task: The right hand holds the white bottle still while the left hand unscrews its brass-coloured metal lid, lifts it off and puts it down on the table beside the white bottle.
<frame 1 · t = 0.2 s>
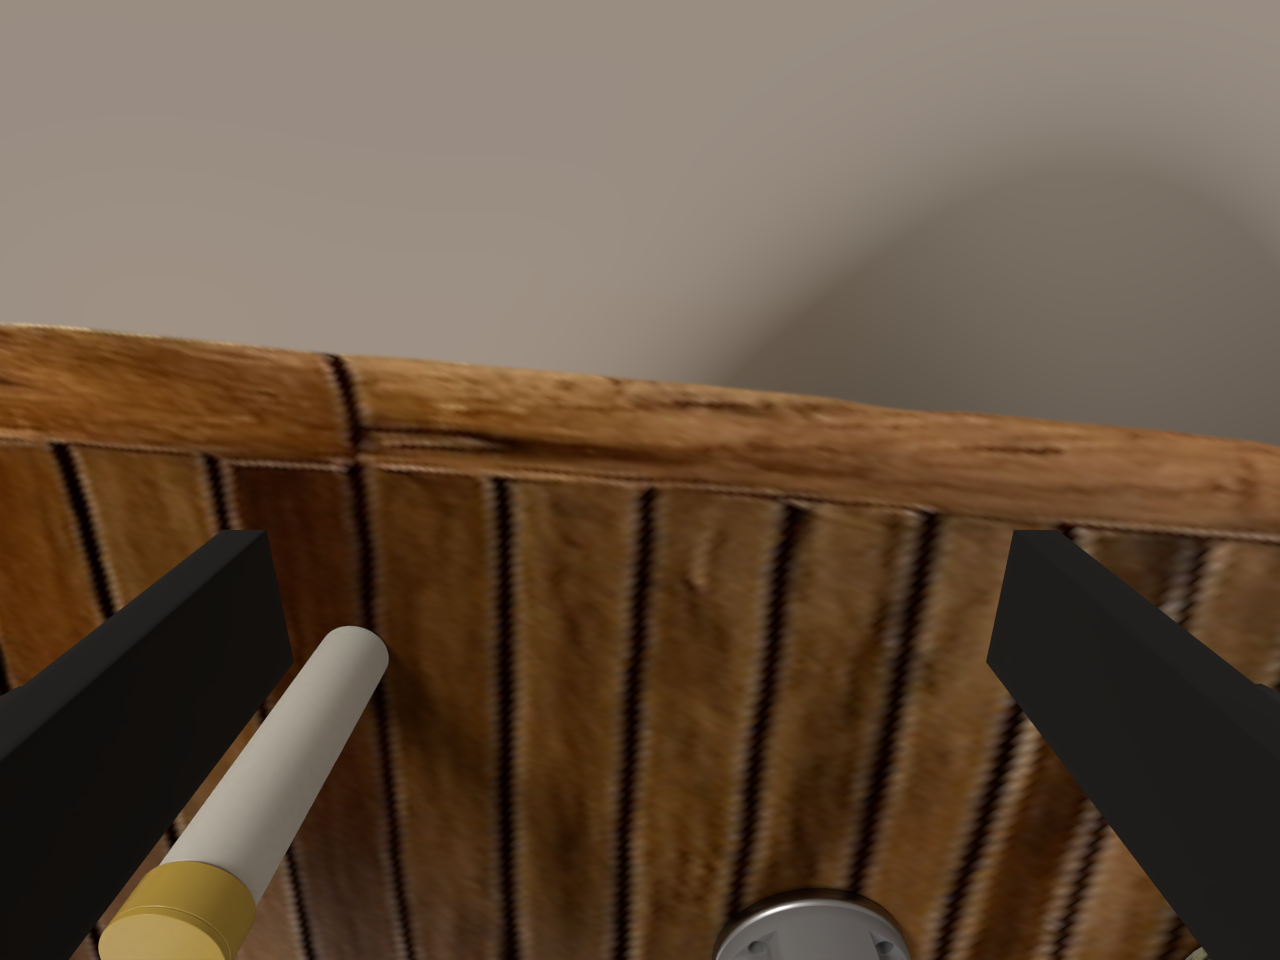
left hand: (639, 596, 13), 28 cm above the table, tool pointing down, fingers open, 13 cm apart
lid: (167, 950, 28), point 20 cm above the table, screwed on, not yet turned
white bottle: (355, 654, 46), on the table
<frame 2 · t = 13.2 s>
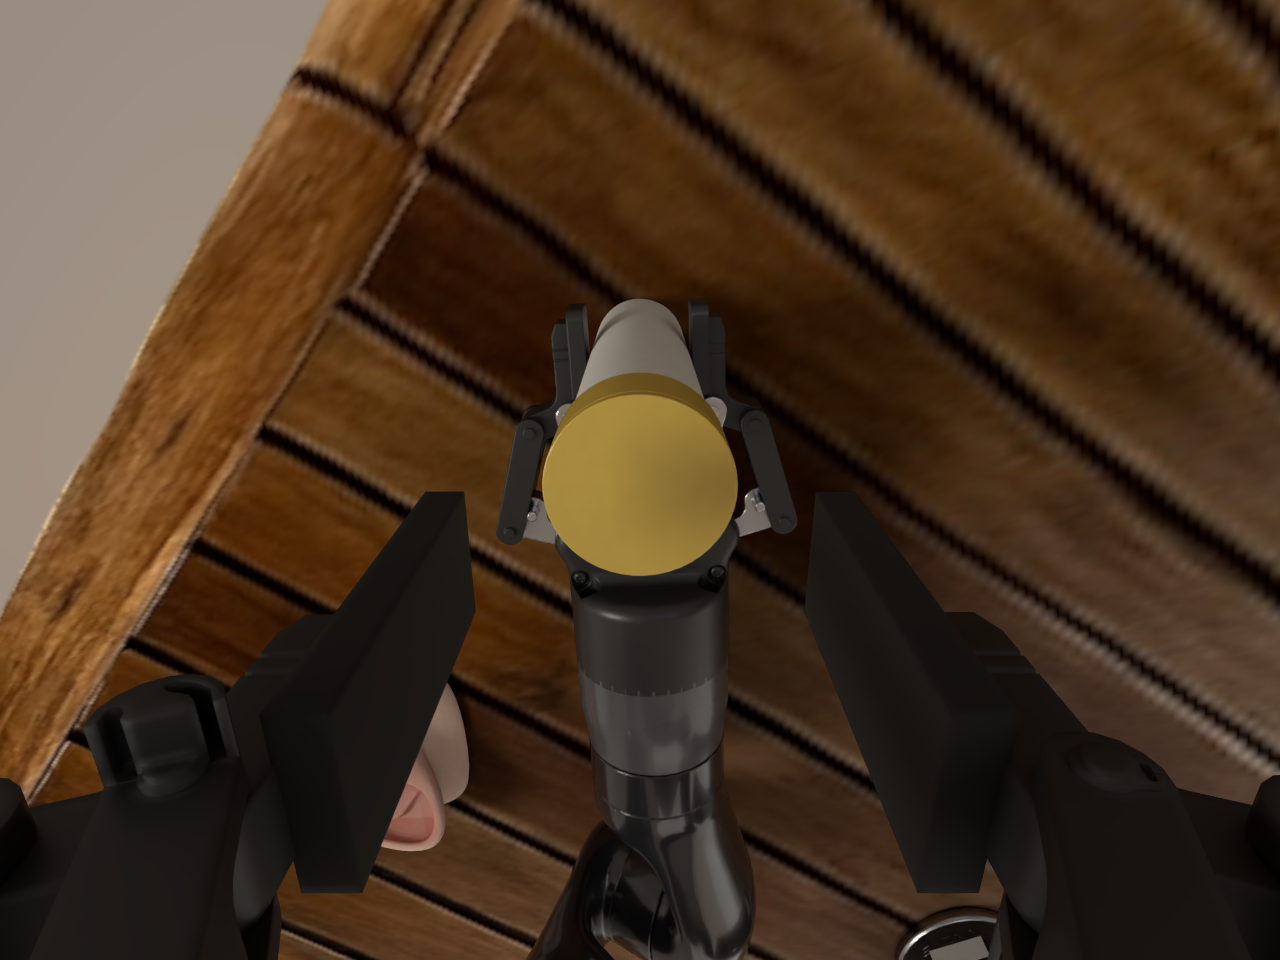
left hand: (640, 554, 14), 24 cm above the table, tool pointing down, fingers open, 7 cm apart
right hand: (636, 305, 29), fingers closed on white bottle, 4 cm apart
lid: (640, 484, 18), point 20 cm above the table, screwed on, not yet turned
anatomical model: (379, 723, 45), on the table
white bottle: (639, 342, 36), on the table, touching right hand
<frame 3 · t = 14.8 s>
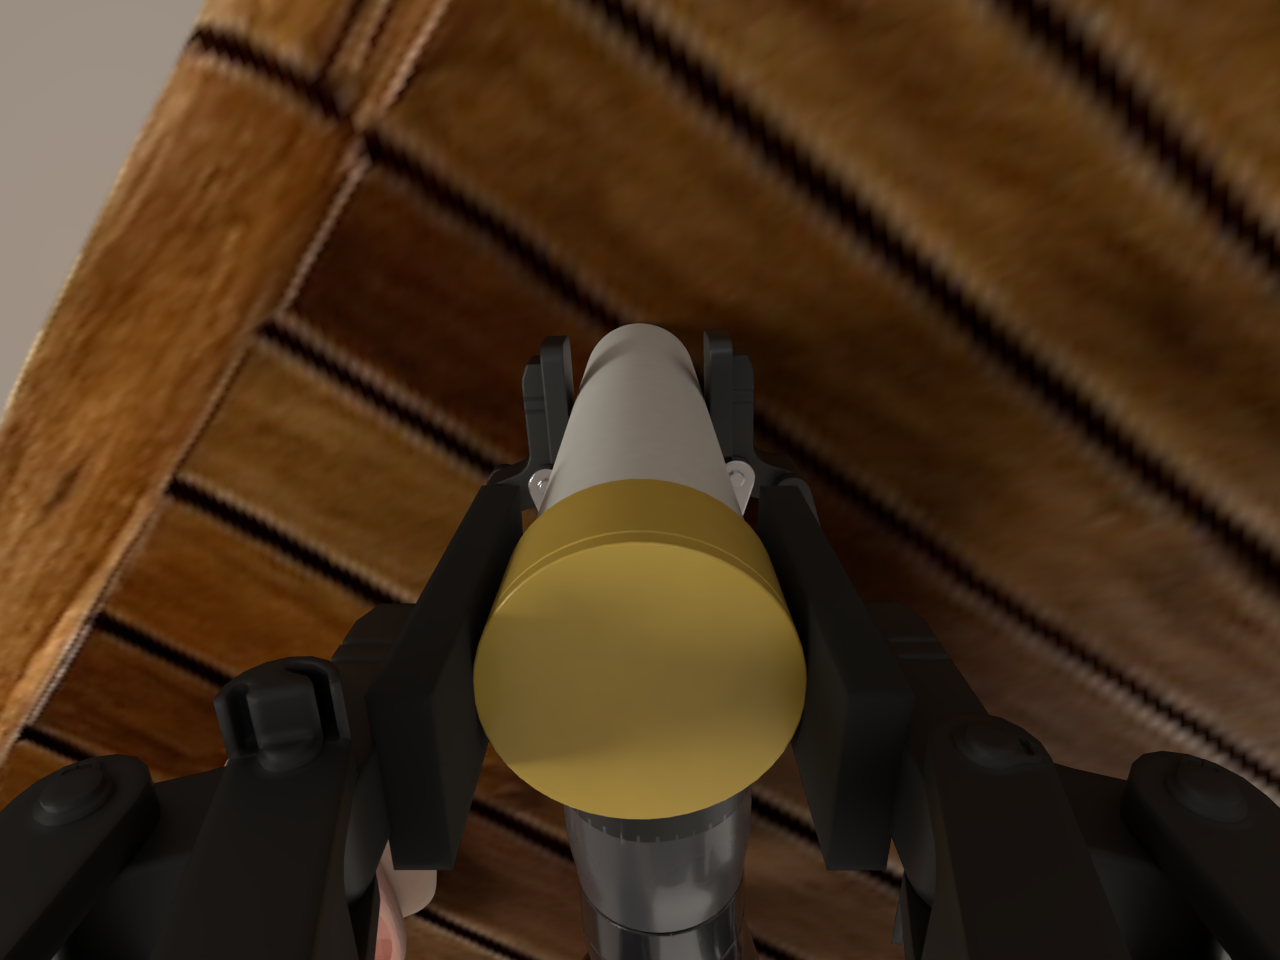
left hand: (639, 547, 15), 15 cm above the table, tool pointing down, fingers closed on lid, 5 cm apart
lid: (639, 678, 11), point 20 cm above the table, screwed on, not yet turned, touching left hand
anatomical model: (329, 823, 38), on the table
white bottle: (640, 377, 29), on the table, touching right hand
when the left hand's fingers open (16 cm above the table, at t = 16.1 s): lid stays where it is, point 20 cm above the table.
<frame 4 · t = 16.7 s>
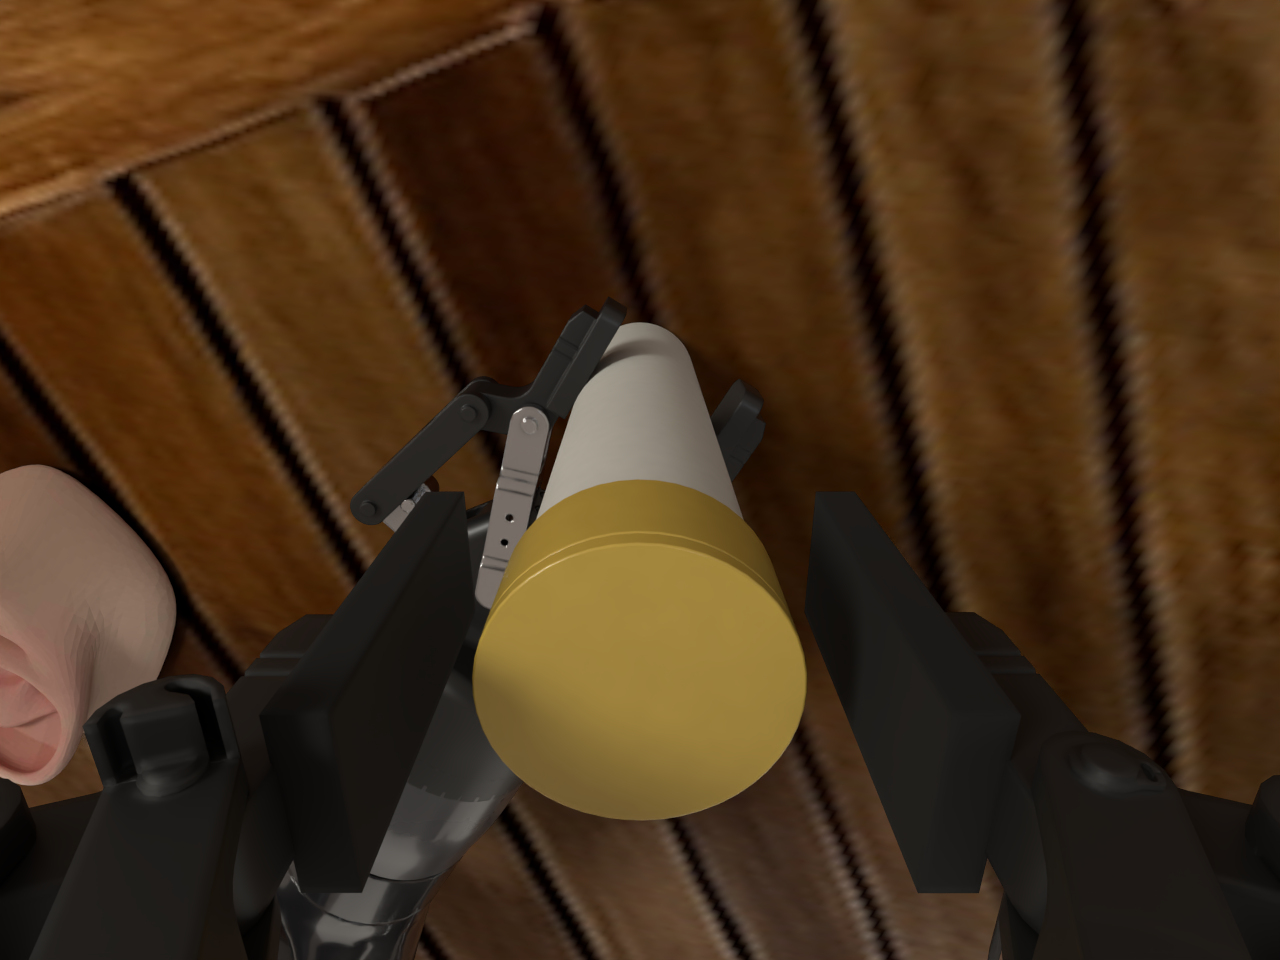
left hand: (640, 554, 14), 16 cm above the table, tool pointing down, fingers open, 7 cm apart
lid: (639, 679, 11), point 20 cm above the table, turned 84° so far, risen 0.3 cm, still on its thread
anatomical model: (57, 601, 33), on the table
white bottle: (639, 376, 29), on the table, touching right hand
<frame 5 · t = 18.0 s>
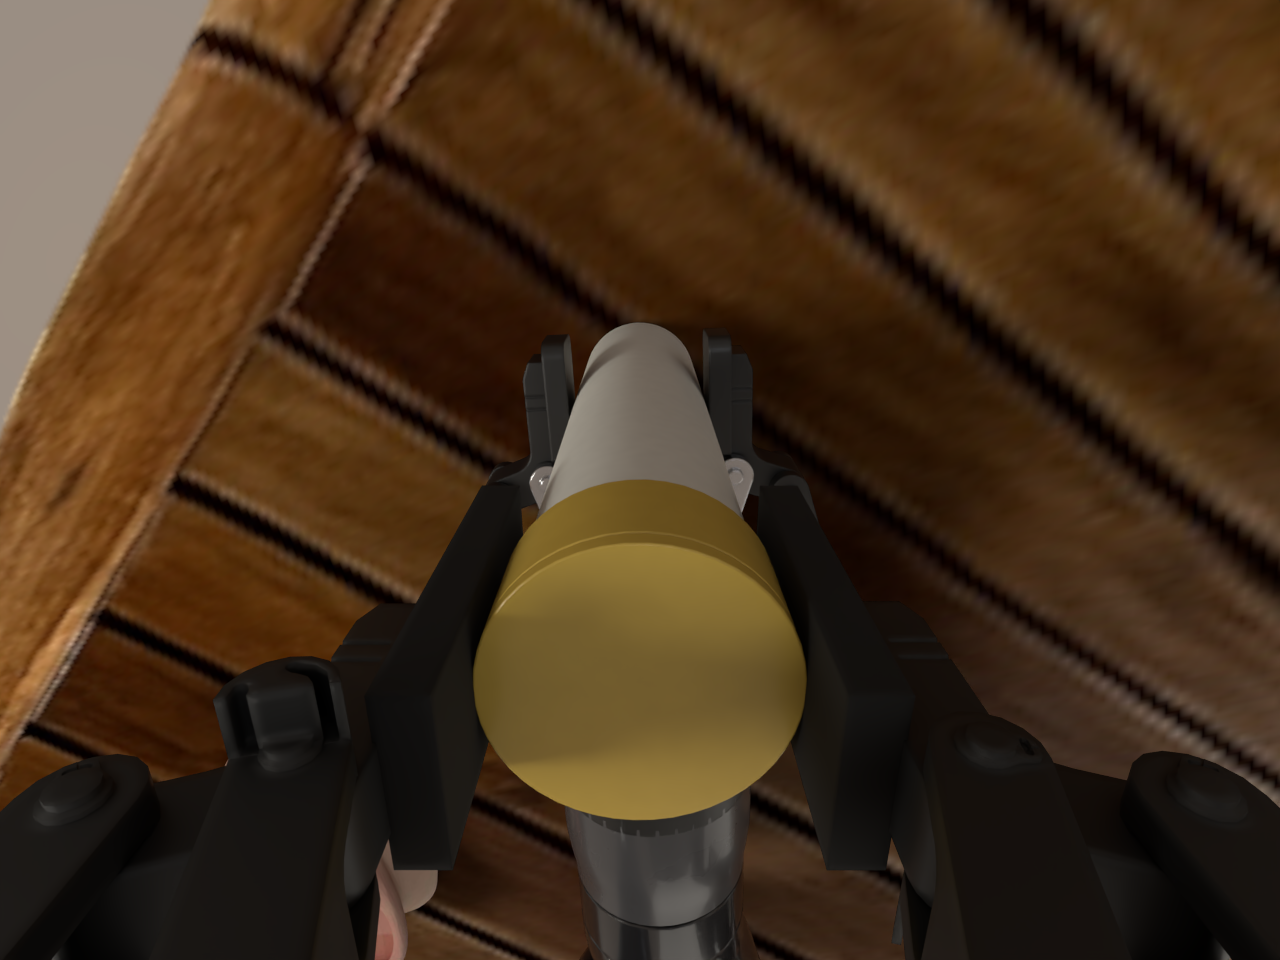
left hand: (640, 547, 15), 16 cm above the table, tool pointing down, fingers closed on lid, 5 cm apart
lid: (639, 679, 11), point 20 cm above the table, turned 84° so far, risen 0.3 cm, still on its thread, touching left hand
anatomical model: (331, 820, 38), on the table
white bottle: (639, 376, 29), on the table, touching right hand
when the left hand's fingers open (0 cm above the table, at t = 26.5 s): lid drops 2 cm, point 2 cm above the table.
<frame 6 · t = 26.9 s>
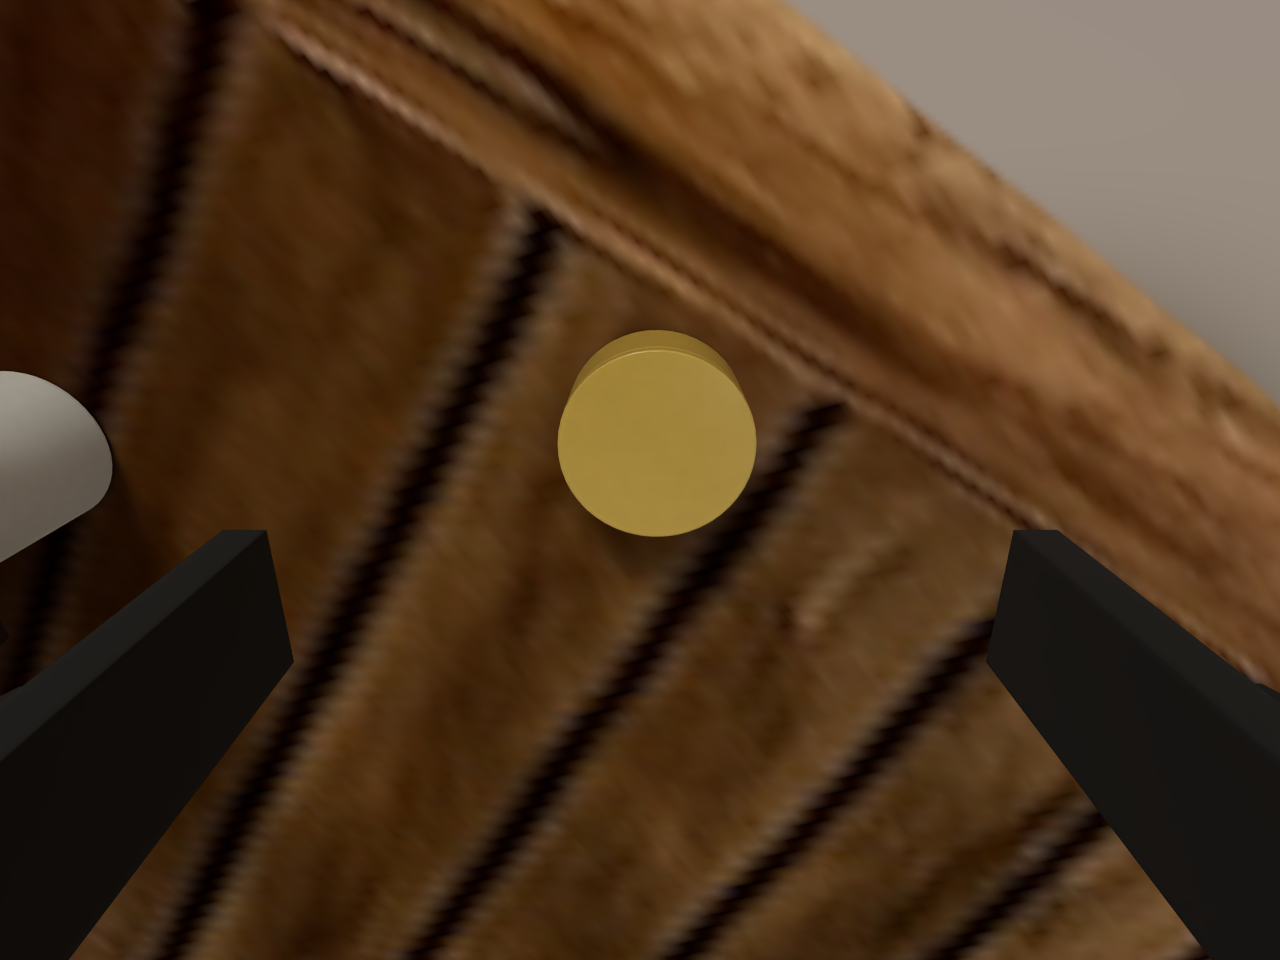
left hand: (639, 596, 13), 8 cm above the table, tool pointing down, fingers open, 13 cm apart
lid: (656, 443, 18), point 2 cm above the table, off its thread
white bottle: (33, 446, 20), on the table, touching right hand
when the right hand's fingers open (6 cm above the table, at t = 27.1 s): white bottle stays where it is, on the table.
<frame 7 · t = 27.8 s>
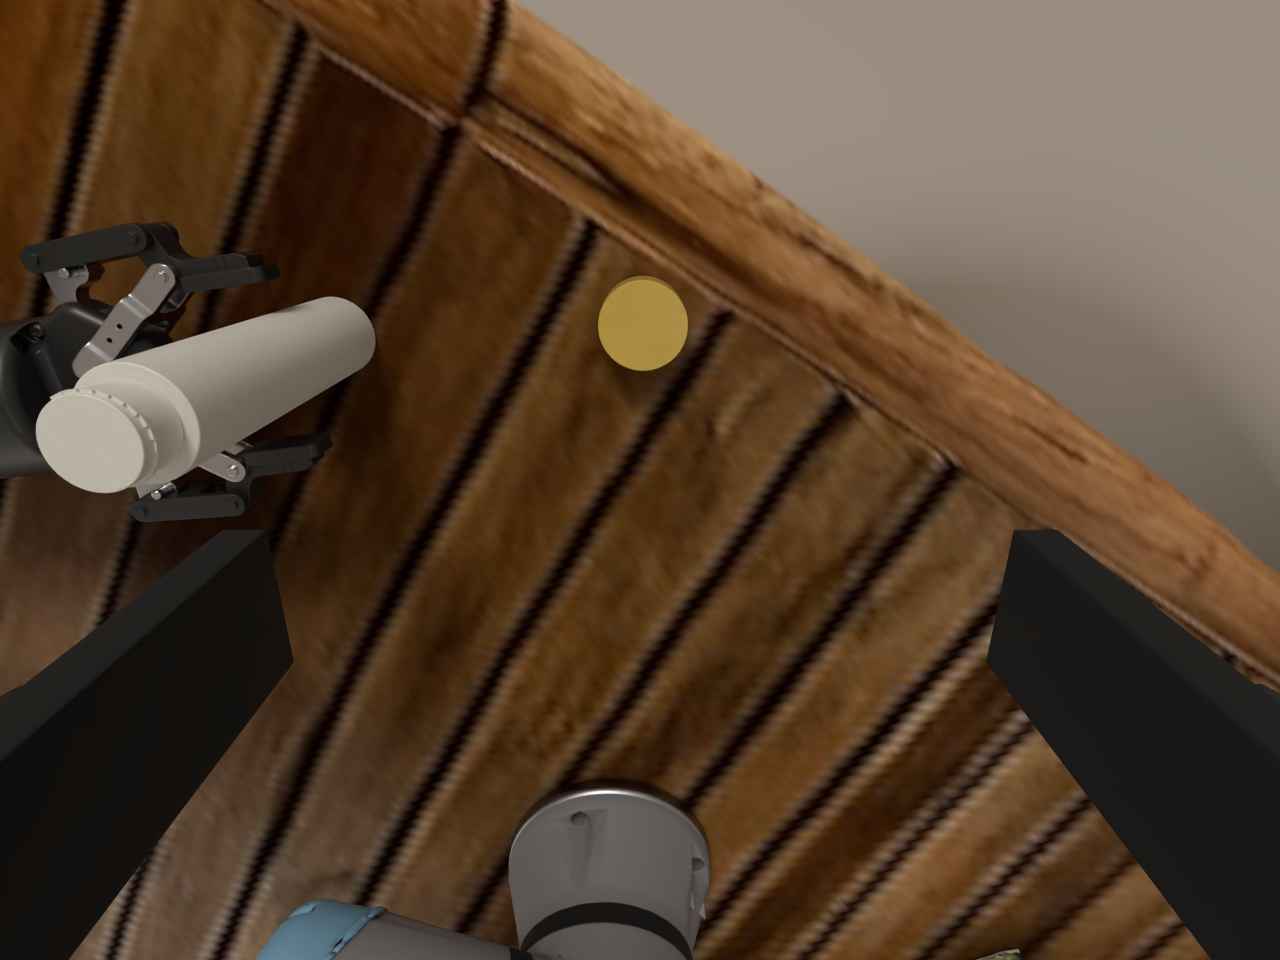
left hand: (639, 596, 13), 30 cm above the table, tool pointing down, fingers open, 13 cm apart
lid: (643, 325, 38), point 2 cm above the table, off its thread
white bottle: (337, 335, 41), on the table
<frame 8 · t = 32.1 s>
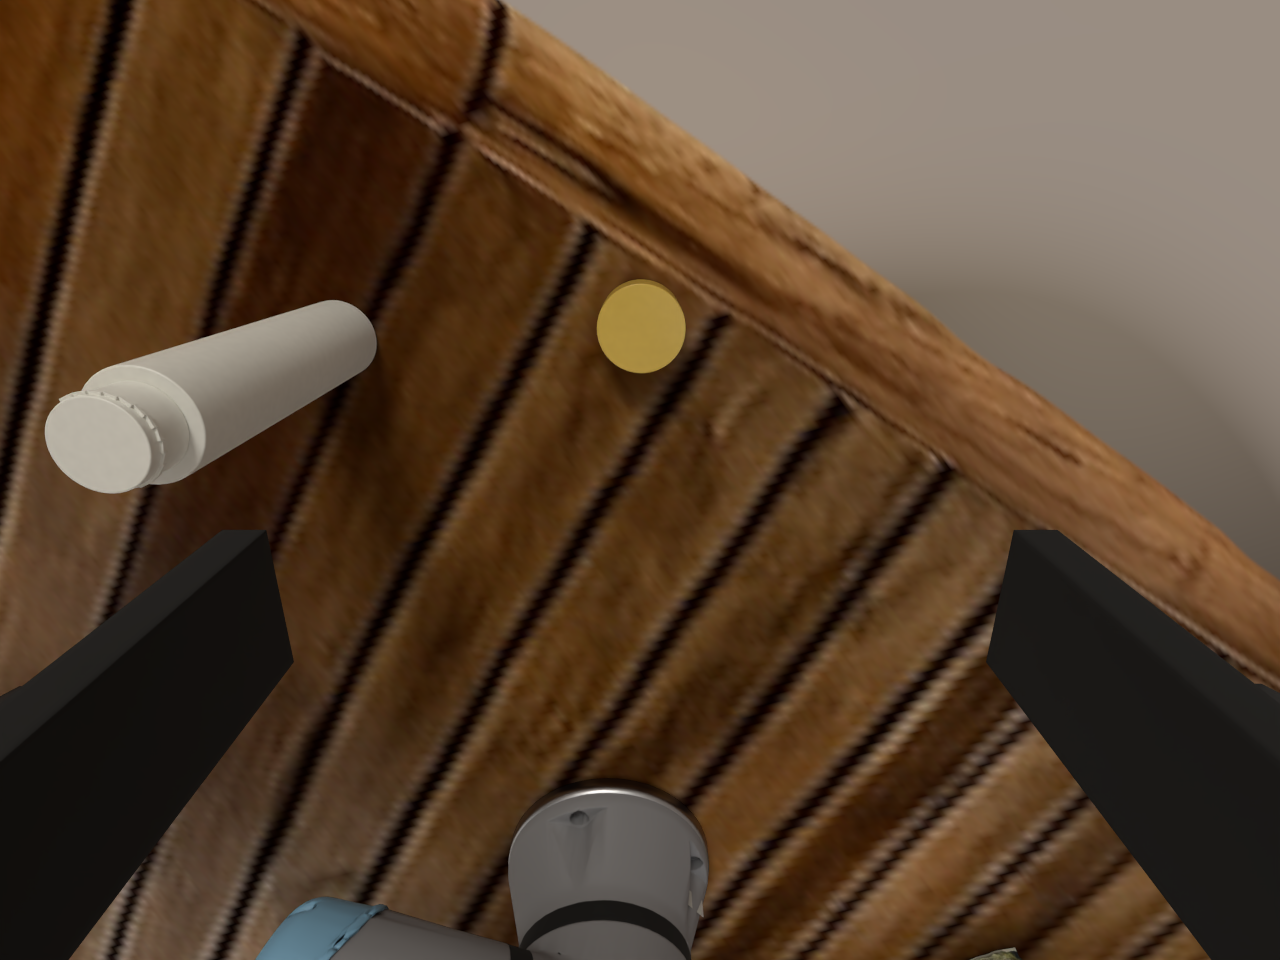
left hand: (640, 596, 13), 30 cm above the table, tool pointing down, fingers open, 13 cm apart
lid: (641, 328, 39), point 2 cm above the table, off its thread
white bottle: (339, 338, 41), on the table
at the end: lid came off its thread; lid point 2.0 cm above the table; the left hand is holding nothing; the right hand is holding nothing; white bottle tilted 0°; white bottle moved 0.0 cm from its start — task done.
